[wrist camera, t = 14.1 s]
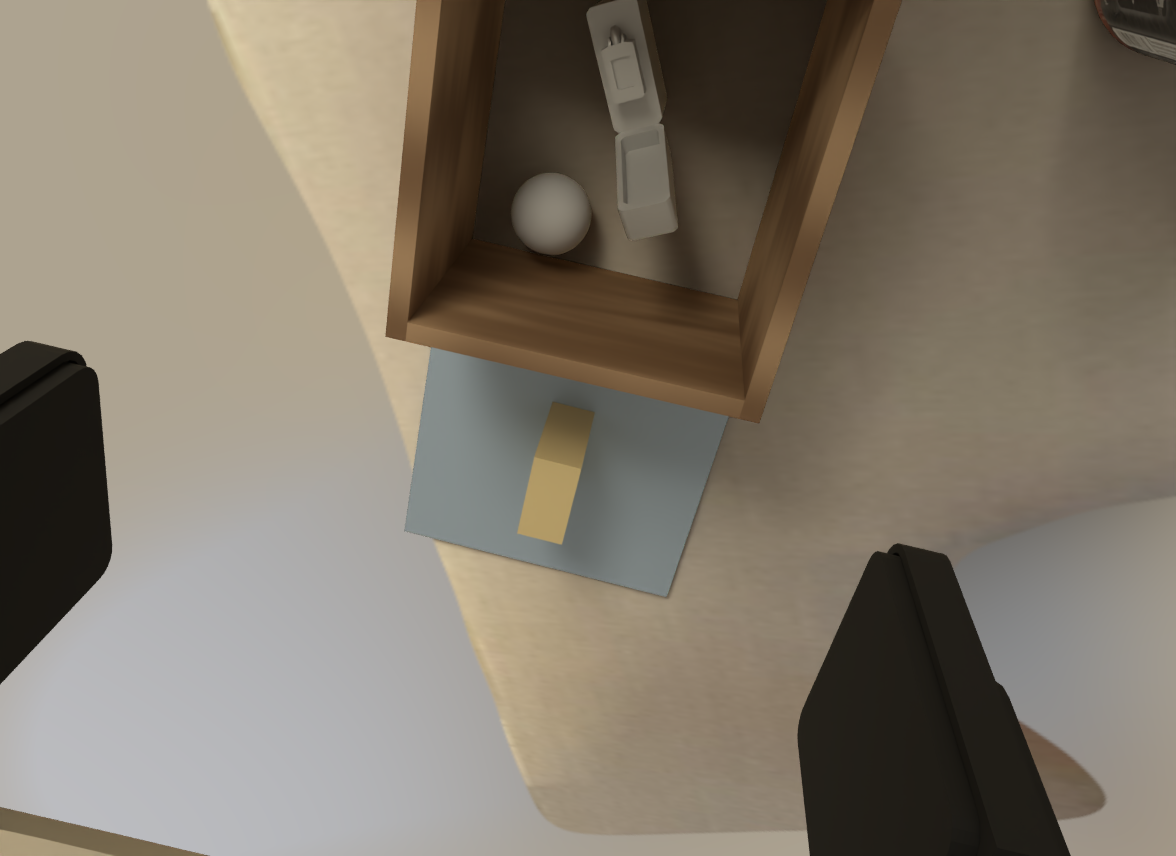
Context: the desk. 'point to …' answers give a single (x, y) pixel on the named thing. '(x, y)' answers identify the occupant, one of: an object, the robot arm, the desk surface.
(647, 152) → the lighter
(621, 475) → the lid
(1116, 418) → the desk surface
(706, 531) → the desk surface
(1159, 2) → the supplement bottle
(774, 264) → the box
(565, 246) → the grey ball
